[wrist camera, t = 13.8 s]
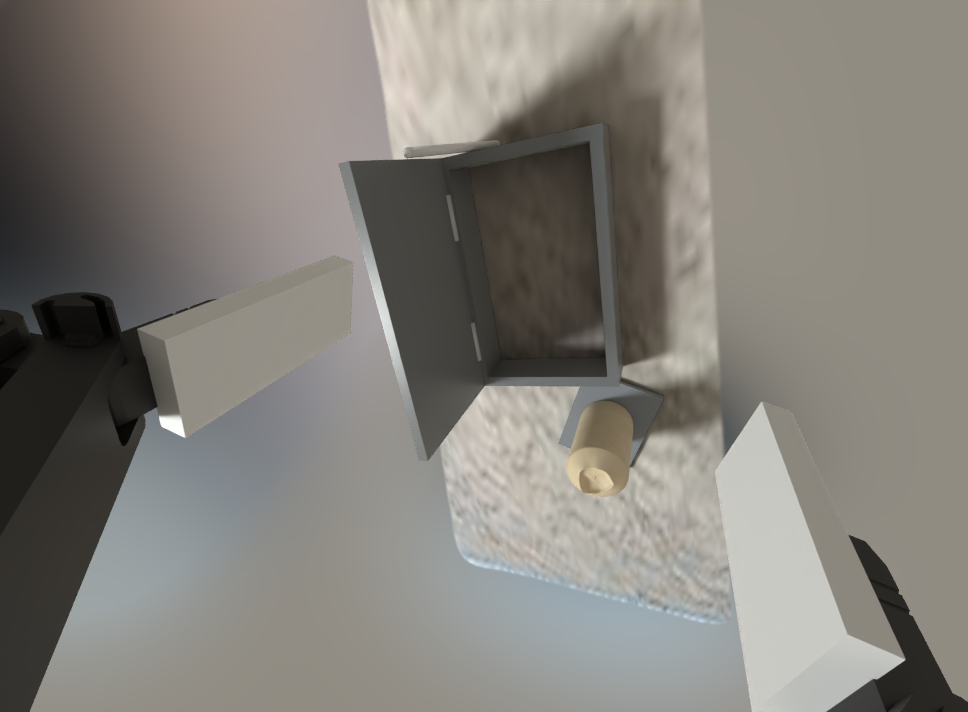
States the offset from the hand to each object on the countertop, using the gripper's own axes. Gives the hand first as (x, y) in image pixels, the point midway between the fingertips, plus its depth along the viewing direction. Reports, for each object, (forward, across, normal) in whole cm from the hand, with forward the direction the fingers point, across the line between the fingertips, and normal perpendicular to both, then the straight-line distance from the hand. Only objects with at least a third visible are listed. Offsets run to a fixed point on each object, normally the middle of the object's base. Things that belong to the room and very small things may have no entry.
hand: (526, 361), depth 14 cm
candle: (+29, +6, -20) cm, 36 cm away
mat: (+29, +6, -20) cm, 36 cm away
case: (+29, -5, -6) cm, 31 cm away
